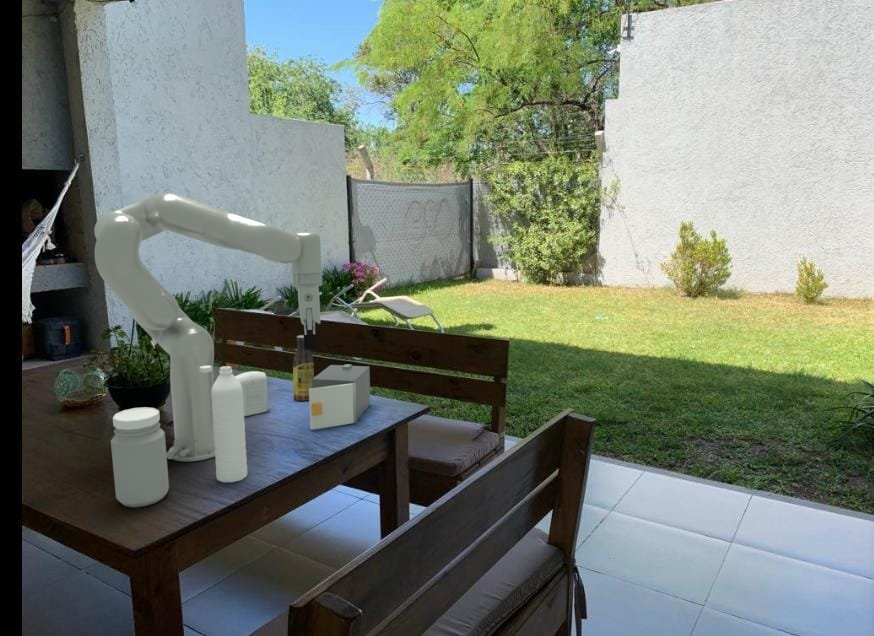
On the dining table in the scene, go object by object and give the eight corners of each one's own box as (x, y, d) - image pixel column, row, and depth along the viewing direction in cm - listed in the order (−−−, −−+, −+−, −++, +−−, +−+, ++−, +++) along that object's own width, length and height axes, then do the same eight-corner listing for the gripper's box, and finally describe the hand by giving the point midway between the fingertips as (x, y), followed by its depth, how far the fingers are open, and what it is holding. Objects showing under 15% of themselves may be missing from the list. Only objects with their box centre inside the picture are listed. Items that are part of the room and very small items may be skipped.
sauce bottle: (298, 403, 187) (295, 339, 183) (290, 398, 192) (287, 335, 188) (318, 399, 190) (316, 336, 187) (309, 394, 195) (307, 333, 192)
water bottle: (251, 470, 138) (245, 363, 134) (242, 483, 132) (236, 370, 127) (212, 470, 138) (205, 363, 134) (201, 483, 132) (193, 370, 127)
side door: (358, 423, 167) (357, 384, 165) (312, 430, 162) (310, 390, 160) (355, 421, 169) (354, 382, 167) (310, 428, 164) (308, 388, 162)
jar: (172, 501, 123) (165, 416, 120) (118, 513, 118) (109, 425, 115) (166, 483, 132) (160, 403, 128) (115, 493, 127) (107, 410, 124)
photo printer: (263, 408, 182) (261, 367, 180) (270, 411, 179) (268, 370, 177) (230, 415, 175) (228, 374, 173) (237, 419, 172) (235, 377, 170)
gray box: (355, 423, 169) (354, 378, 167) (308, 420, 171) (306, 376, 169) (370, 405, 185) (369, 363, 182) (326, 402, 187) (325, 362, 185)
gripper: (323, 282, 153) (326, 354, 156) (320, 276, 167) (323, 341, 170) (292, 283, 151) (296, 356, 154) (292, 277, 165) (295, 343, 168)
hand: (310, 348), depth 162 cm, fingers closed
